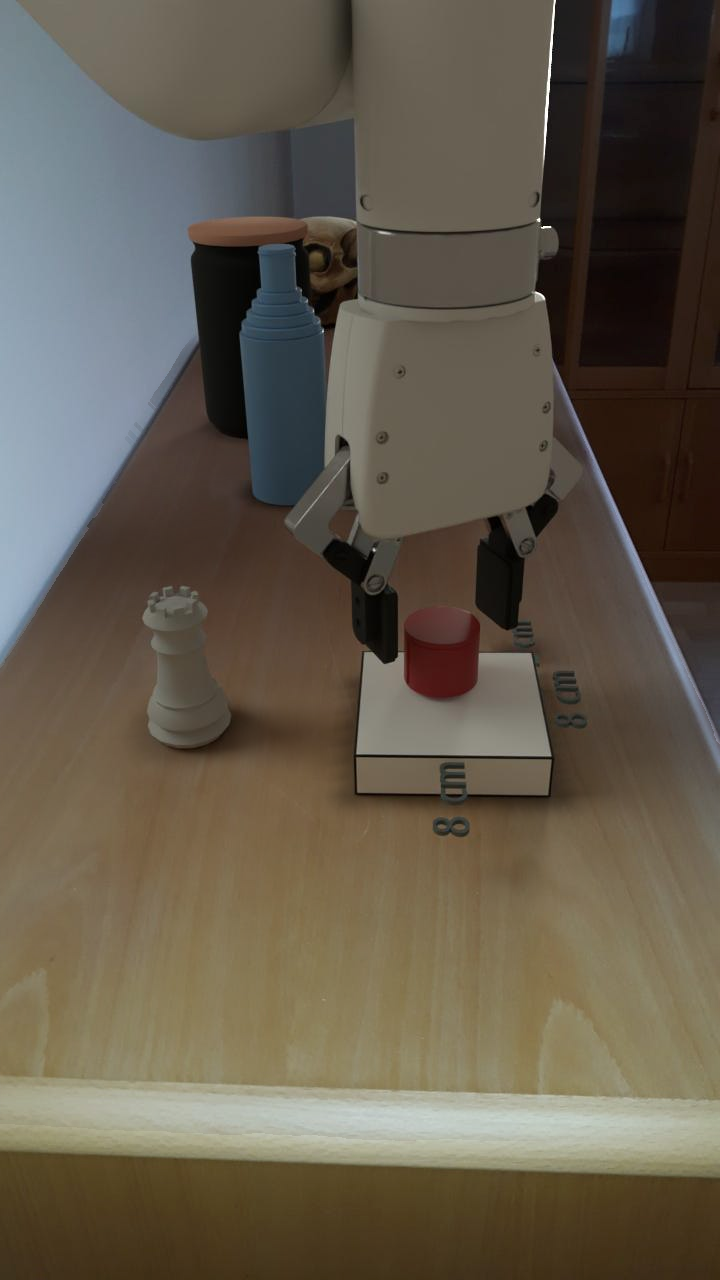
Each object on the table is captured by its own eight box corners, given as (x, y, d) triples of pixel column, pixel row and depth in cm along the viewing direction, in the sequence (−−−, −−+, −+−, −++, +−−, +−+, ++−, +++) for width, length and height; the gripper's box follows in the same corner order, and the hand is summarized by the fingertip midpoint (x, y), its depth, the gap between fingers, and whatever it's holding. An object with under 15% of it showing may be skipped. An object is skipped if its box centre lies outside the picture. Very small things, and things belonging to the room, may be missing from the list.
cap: (423, 706, 50) (424, 651, 48) (390, 668, 53) (390, 616, 51) (491, 687, 51) (494, 633, 49) (455, 651, 54) (457, 600, 53)
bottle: (245, 504, 79) (223, 254, 69) (261, 474, 85) (243, 239, 75) (323, 506, 78) (312, 254, 69) (335, 476, 84) (326, 239, 74)
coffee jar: (274, 398, 103) (262, 212, 94) (338, 422, 96) (332, 224, 86) (186, 421, 97) (164, 226, 88) (248, 449, 90) (231, 239, 81)
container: (366, 637, 61) (365, 599, 59) (552, 638, 60) (556, 600, 59) (348, 873, 44) (347, 828, 42) (609, 877, 43) (616, 832, 42)
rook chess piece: (131, 735, 53) (108, 604, 49) (188, 695, 56) (170, 569, 52) (193, 762, 51) (175, 628, 46) (248, 719, 54) (236, 590, 50)
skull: (258, 329, 127) (256, 217, 122) (275, 313, 143) (273, 213, 137) (379, 333, 127) (382, 220, 121) (382, 316, 142) (385, 216, 137)
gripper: (564, 235, 47) (537, 569, 57) (221, 273, 41) (254, 640, 50) (669, 260, 41) (620, 627, 51) (288, 308, 35) (311, 716, 45)
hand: (438, 631), depth 50 cm, fingers open, 6 cm apart
